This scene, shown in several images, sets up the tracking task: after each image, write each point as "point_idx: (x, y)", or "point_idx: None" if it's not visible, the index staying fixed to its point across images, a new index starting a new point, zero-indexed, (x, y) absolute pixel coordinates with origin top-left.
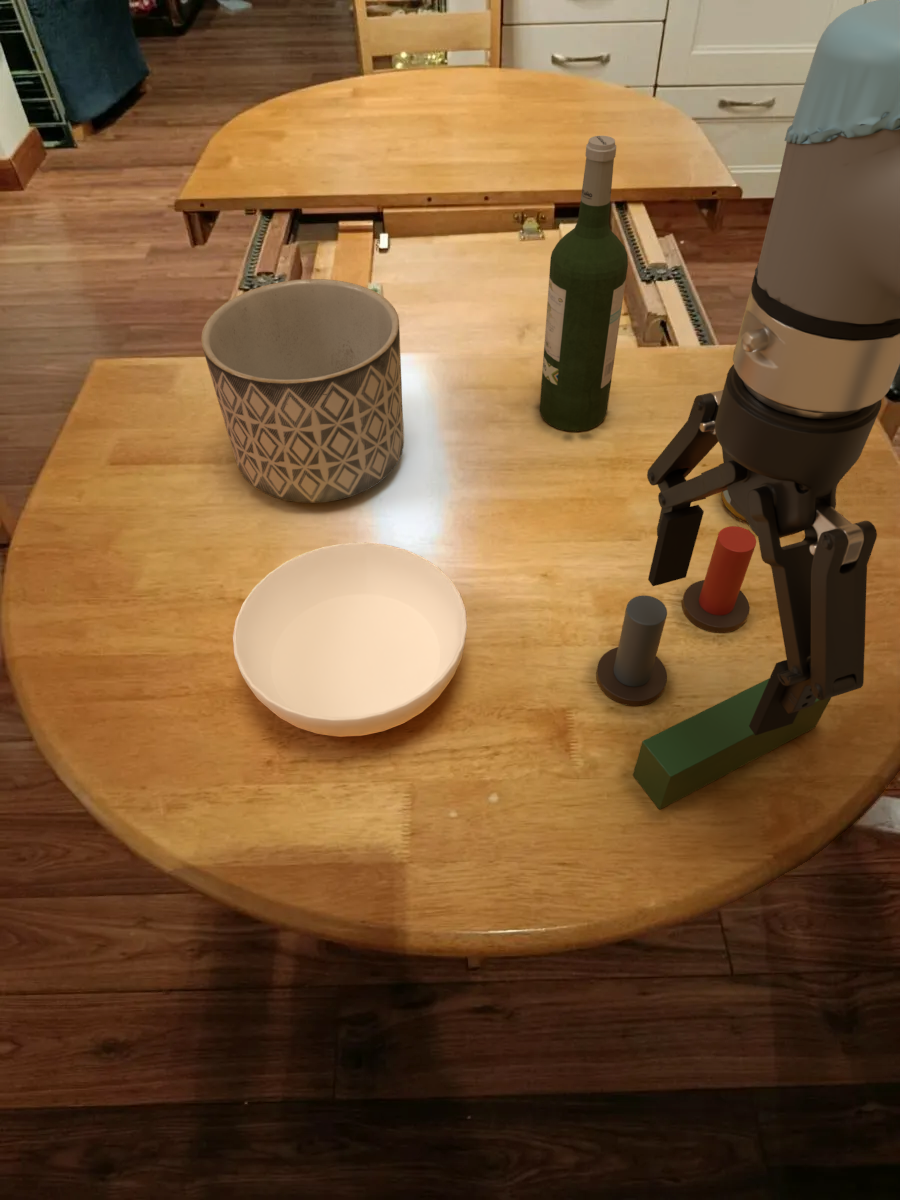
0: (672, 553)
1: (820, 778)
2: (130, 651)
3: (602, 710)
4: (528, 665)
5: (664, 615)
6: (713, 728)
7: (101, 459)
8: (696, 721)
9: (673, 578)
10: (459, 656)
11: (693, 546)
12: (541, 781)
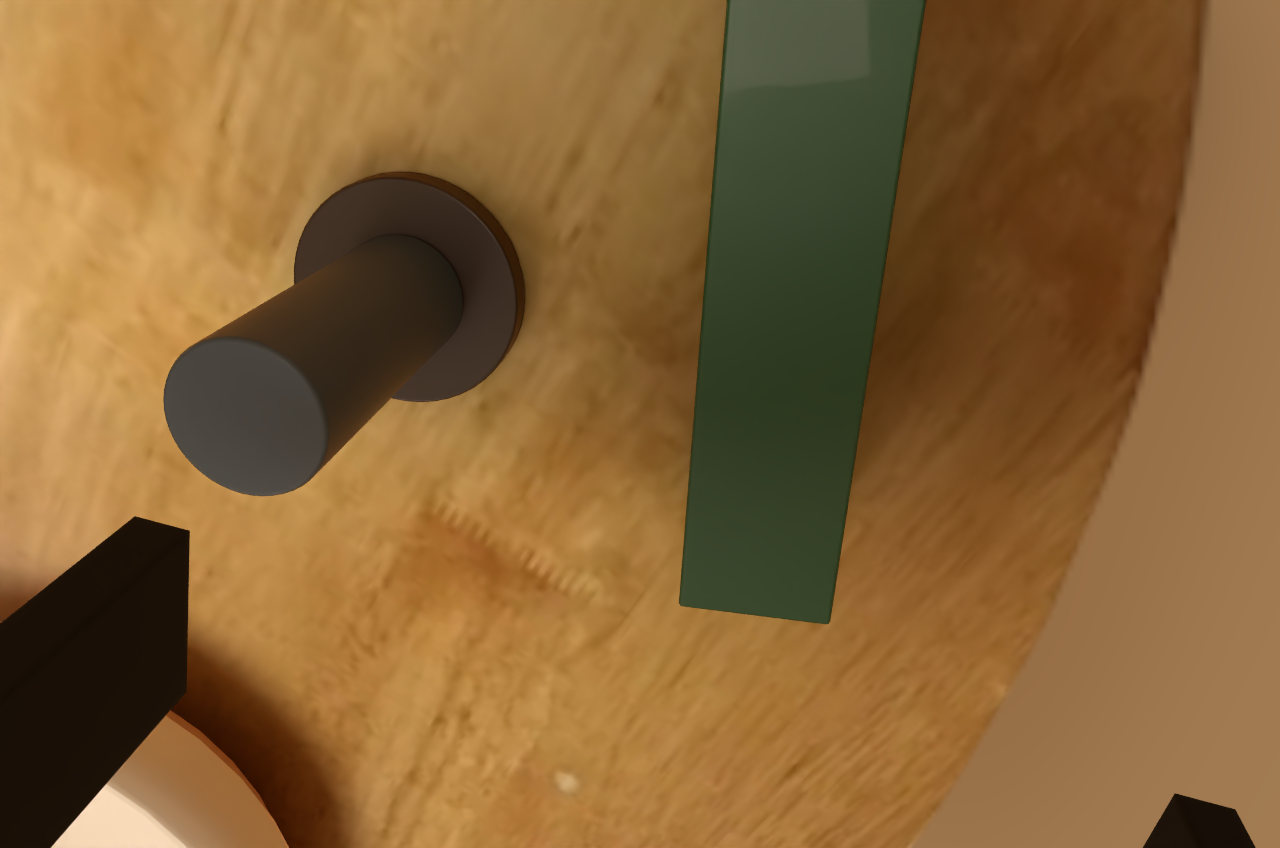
0: (32, 802)
1: (1072, 22)
2: None
3: (477, 433)
4: (249, 499)
5: (299, 382)
6: (774, 398)
7: None
8: (719, 426)
9: (177, 610)
10: (181, 825)
11: (14, 698)
12: (586, 683)
